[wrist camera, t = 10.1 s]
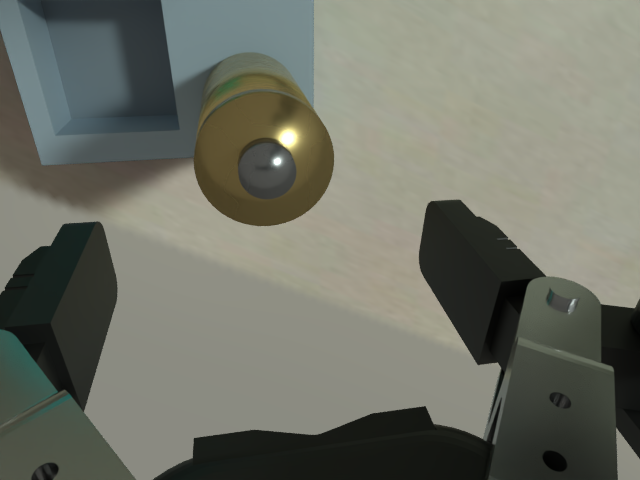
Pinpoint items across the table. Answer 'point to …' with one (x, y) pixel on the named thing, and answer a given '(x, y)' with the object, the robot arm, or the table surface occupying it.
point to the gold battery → (260, 143)
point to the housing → (138, 68)
